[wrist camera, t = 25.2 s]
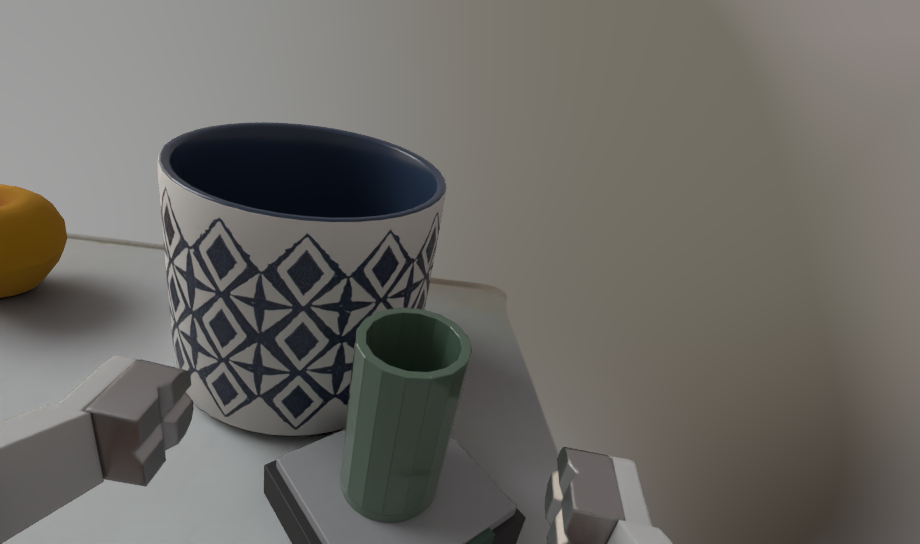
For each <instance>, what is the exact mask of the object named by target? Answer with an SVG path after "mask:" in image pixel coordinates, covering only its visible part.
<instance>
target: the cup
mask: <svg viewBox="0 0 920 544" xmlns="http://www.w3.org/2000/svg"><path fill="white" fill-rule="evenodd" d="M471 353H472V349H471V346H470V342H469V338H468V336H467V335H466V334H465V333H464V332H463V330H462V329H461V328H460V327H459V326H458V325H457V324H456V323H454V322H452V321H450V320H449V319H447V318H445V317H444V316H442V315H440V314H436V313H433V312H430V311H426V310H423V309H415V308H402V307H401V308H393V309H387V310H382V311H379V312H377V313H375V314H373V315H371V316H369V317H367V318H366V319H365V320H364V321H363V322H362V323H361V325H360V326H359V327H358V329H357V331H356V337H355V345H354V354H353V363H352V372H351V381H350V389H349V398H348V407H347V416H346V425H345V433H344V442H343V451H342V460H341V472H340V487H341V491H342V494H343V496H344V498H345V500H346V501H347V502H348V504H349V505H350V506H351V507H352V508H353V509H354V510H355V511H356V512H358V513H359V514H361V515H363V516H364V517H366V518H369V519H371V520H375V521H379V522H386V523H394V522H402V521H406V520H409V519H412V518H414V517H416V516H418V515H419V514H421V513H422V512H423V511H424V510H426V509H427V508H428V506H429V505H430V504H431V503H432V501H433V499H434V497H435V495H436V492H437V488H438V484H439V482H440V478H441V474H442V470H443V466H444V462H445V458H446V454H447V450H448V446H449V442H450V438H451V434H452V430H453V425H454V421H455V417H456V413H457V409H458V405H459V401H460V397H461V393H462V389H463V385H464V381H465V377H466V373H467V369H468V365H469V361H470V357H471Z"/></svg>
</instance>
